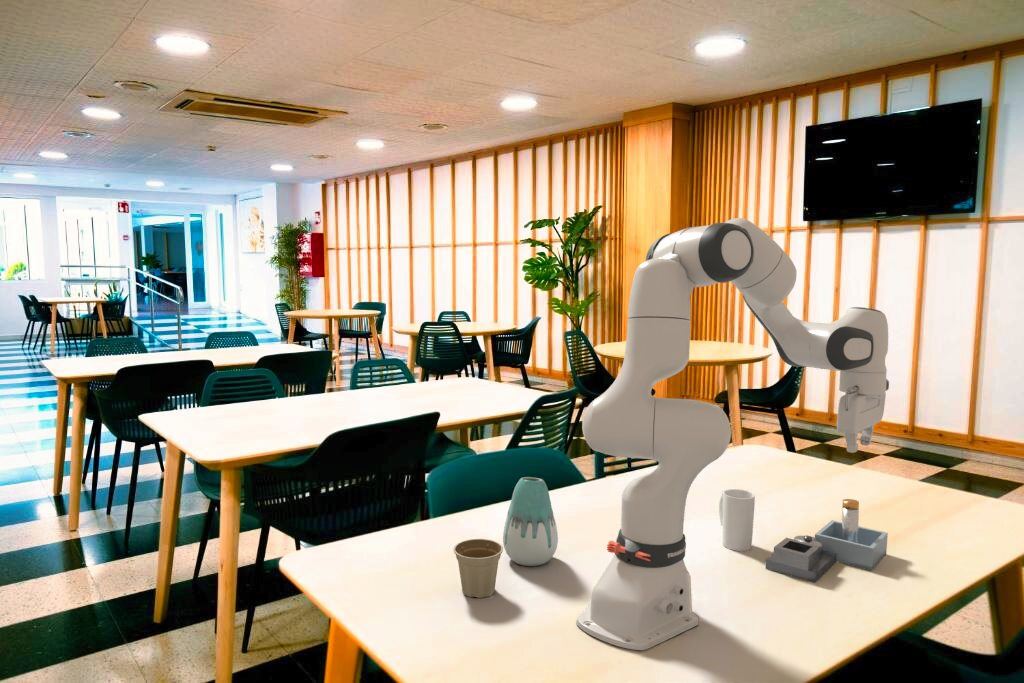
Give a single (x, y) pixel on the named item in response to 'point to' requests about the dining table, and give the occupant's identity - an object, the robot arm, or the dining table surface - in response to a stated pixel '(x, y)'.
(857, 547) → the parts bin
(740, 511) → the mug
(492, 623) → the dining table surface
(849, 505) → the lock pin
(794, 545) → the block
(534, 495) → the vase
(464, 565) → the flower pot
